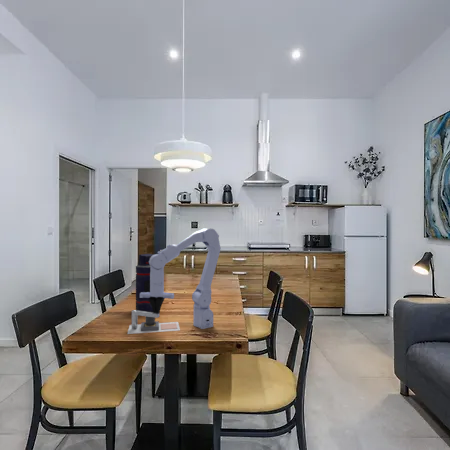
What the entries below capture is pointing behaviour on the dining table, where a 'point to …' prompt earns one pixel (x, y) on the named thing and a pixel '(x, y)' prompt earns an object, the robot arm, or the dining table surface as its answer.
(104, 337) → the dining table surface
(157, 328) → the dock board
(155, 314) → the retention clip
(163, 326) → the pad
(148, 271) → the red-striped navy canister
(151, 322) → the plug
